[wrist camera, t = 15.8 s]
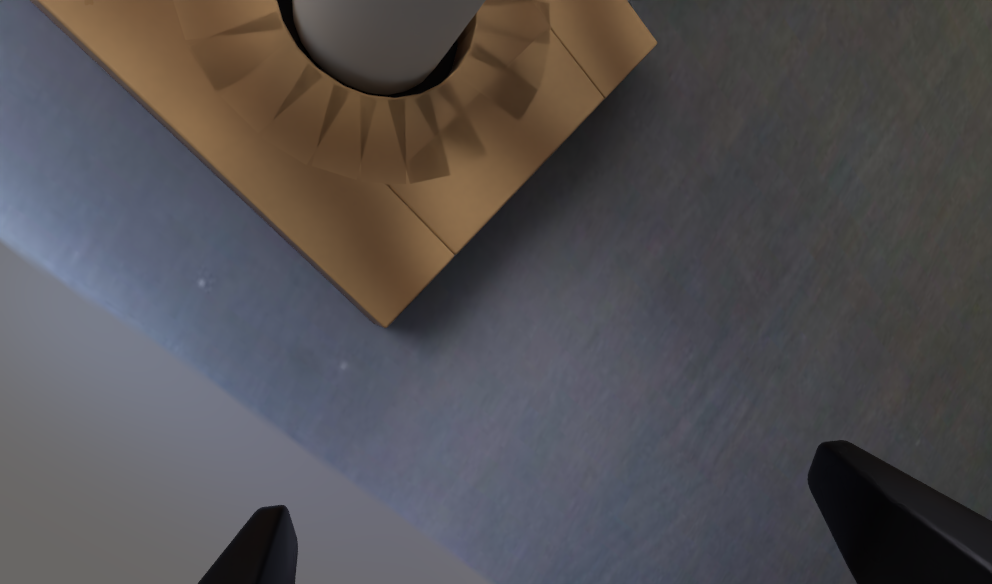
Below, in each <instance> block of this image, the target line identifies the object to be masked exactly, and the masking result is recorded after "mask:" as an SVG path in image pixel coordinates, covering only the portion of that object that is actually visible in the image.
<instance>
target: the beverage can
mask: <svg viewBox="0 0 992 584" xmlns="http://www.w3.org/2000/svg"><path fill="white" fill-rule="evenodd" d="M485 1H486V0H292V7H293V21H294V24H295V27H296V30H297V33H298V35H299V38H300V41H301V43H302V44H303V46H304V47H305V49H306V50H307V52H308V53H309V55H310V56H311V58H312V59H313V60H314V61H315V62H316V63H317V64H318V65H319V66H320V67H321V68H322V69H323V70H325V71H326V72H327V73H328V74H329V75H331V76H332V77H334V78H336V79H337V80H339V81H341V82H342V83H344V84H346V85H347V86H350V87H353V88H356V89H358V90H361V91H364V92H367V93H373V94H382V95H391V94H395V93H400V92H405V91H408V90H409V89H411V88H413V87H415V86H416V85H418V84H420V83H422V82H423V81H424V80H425V79H426V77H427V76H428V75H429V74H430V73H431V72H432V71H433V70H434V69H435V68H436V66H437V65H438V64H439V62H440V61H441V60H442V58H443V57H444V56H445V54H446V53H447V52H448V50H449V49H450V48H451V46H452V45H453V43H454V42H455V41H456V39H457V38H458V37H459V35H460V34H461V33H462V31H463V30H464V29H465V27H466V26H467V25H468V23H469V22H470V21H471V19H472V18H473V17H474V15H475V14H476V13H477V11H478V10H479V9H480V7H481V6H482V5H483V3H484V2H485Z"/></svg>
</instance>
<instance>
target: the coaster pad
mask: <svg viewBox="0 0 992 584" xmlns="http://www.w3.org/2000/svg"><path fill="white" fill-rule="evenodd" d="M30 1H31V2H32V3H33V4H34V5H35V6H36V7H37V8H39V9H40V10H41V11H42V12H43V13H44V14H45V15H46V16H47V17H48V18H49V19H50V20H51V21H52V22H53V23H54V24H56V25H57V26H58V27H59V28H60V29H61V30H62V31H63V32H64V33H65V34H66V35H67V36H68V37H69V38H70V39H72V40H73V41H74V42H75V43H76V44H77V45H78V46H79V47H80V48H81V49H82V50H83V51H84V52H85V53H86V54H87V55H89V56H90V57H91V58H92V59H93V60H94V61H95V62H96V63H97V64H98V65H99V66H100V67H101V68H102V69H103V70H105V71H106V72H107V73H108V74H109V75H110V76H111V77H112V78H113V79H114V80H115V81H116V82H117V83H118V84H119V85H120V86H122V87H123V88H124V89H125V90H126V91H127V92H128V93H129V94H130V95H131V96H132V97H133V98H134V99H135V100H136V101H138V102H139V103H140V104H141V105H142V106H143V107H144V108H145V109H146V110H147V111H148V112H149V113H150V114H151V115H152V116H153V117H155V118H156V119H157V120H158V121H159V122H160V123H161V124H162V125H163V126H164V127H165V128H166V129H167V130H168V131H169V132H171V133H172V134H173V135H174V136H175V137H176V138H177V139H178V140H179V141H180V142H181V143H182V144H183V145H184V146H185V147H187V148H188V149H189V150H190V151H191V152H192V153H193V154H194V155H195V156H196V157H197V158H198V159H199V160H200V161H201V162H202V163H204V164H205V165H206V166H207V167H208V168H209V169H210V170H211V171H212V172H213V173H214V174H215V175H216V176H217V177H218V178H220V179H221V180H222V181H223V182H224V183H225V184H226V185H227V186H228V187H229V188H230V189H231V190H232V191H233V192H234V193H235V194H237V195H238V196H239V197H240V198H241V199H242V200H243V201H244V202H245V203H246V204H247V205H248V206H249V207H250V208H251V209H253V210H254V211H255V212H256V213H257V214H258V215H259V216H260V217H261V218H262V219H263V220H264V221H265V222H266V223H267V224H268V225H270V226H271V227H272V228H273V229H274V230H275V231H276V232H277V233H278V234H279V235H280V236H281V237H282V238H283V239H284V240H286V241H287V242H288V243H289V244H290V245H291V246H292V247H293V248H294V249H295V250H296V251H297V252H298V253H299V254H300V255H301V256H303V257H304V258H305V259H306V260H307V261H308V262H309V263H310V264H311V265H312V266H313V267H314V268H315V269H316V270H317V271H319V272H320V273H321V274H322V275H323V276H324V277H325V278H326V279H327V280H328V281H329V282H330V283H331V284H332V285H333V286H335V287H336V288H337V289H338V290H339V291H340V292H341V293H342V294H343V295H344V296H345V297H346V298H347V299H348V300H349V301H350V302H352V303H353V304H354V305H355V306H356V307H357V308H358V309H359V310H360V311H361V312H362V313H363V314H364V315H365V316H366V317H368V318H369V319H370V320H371V321H372V322H373V323H374V324H377V325H379V326H381V327H384V328H387V327H388V326H389V325H390V324H391V323H392V322H393V321H394V320H395V319H396V318H397V317H398V316H399V315H400V314H401V312H402V311H403V310H404V309H405V308H406V307H407V306H408V305H409V304H410V303H411V302H412V301H413V300H414V299H415V298H416V297H417V296H418V295H419V294H420V293H421V291H422V290H423V289H424V288H425V287H426V286H427V285H428V284H429V283H430V282H431V281H432V280H433V279H434V278H435V277H436V276H437V275H438V274H439V273H440V272H441V270H442V269H443V268H444V267H445V266H446V265H447V264H448V263H449V262H450V261H451V260H452V259H453V258H454V255H456V254H458V253H459V252H460V250H461V249H462V248H463V247H464V246H465V245H466V244H467V243H468V242H469V241H470V240H471V239H472V238H473V237H474V236H475V235H476V234H477V233H478V232H479V231H480V229H481V228H482V227H483V226H484V225H485V224H486V223H487V222H488V221H489V220H490V219H491V218H492V217H493V216H494V215H495V214H496V213H497V212H498V211H499V210H500V208H501V207H502V206H503V205H504V204H505V203H506V202H507V201H508V200H509V199H510V198H511V197H512V196H513V195H514V194H515V193H516V192H517V191H518V190H519V189H520V187H521V186H522V185H523V184H524V183H525V182H526V181H527V180H528V179H529V178H530V177H531V176H532V175H533V174H534V173H535V172H536V171H537V170H538V169H539V167H540V166H541V165H542V164H543V163H544V162H545V161H546V160H547V159H548V158H549V157H550V156H551V155H552V154H553V153H554V152H555V151H556V150H557V149H558V148H559V146H560V145H561V144H562V143H563V142H564V141H565V140H566V139H567V138H568V137H569V136H570V135H571V134H572V133H573V132H574V131H575V130H576V129H577V128H578V127H579V125H580V124H581V123H582V122H583V121H584V120H585V119H586V118H587V117H588V116H589V115H590V114H591V113H592V112H593V111H594V110H595V109H596V108H597V107H598V106H599V104H600V103H601V102H602V101H603V100H604V99H605V98H606V97H607V96H608V95H609V94H610V93H611V92H612V91H613V90H614V89H615V88H616V87H617V86H618V85H619V84H620V83H621V82H622V81H623V79H624V78H625V77H626V76H627V75H628V74H629V73H630V72H631V71H632V70H633V69H634V68H635V67H636V66H637V65H638V64H639V63H640V62H641V61H642V59H643V58H644V57H645V56H646V55H647V54H648V53H649V52H650V51H651V50H652V49H653V48H654V47H655V46H656V45H657V41H656V40H655V39H654V37H653V36H652V34H651V33H650V32H649V30H648V29H647V27H646V26H645V25H644V23H643V22H642V20H641V19H640V18H639V16H638V15H637V14H636V12H635V11H634V9H633V8H632V7H631V5H630V4H629V2H628V1H627V0H486V1H485V2H484V3H483V5H482V6H481V7H480V9H479V10H478V11H477V13H476V14H475V15H474V17H473V18H472V19H471V21H470V22H469V23H468V25H467V26H466V27H465V29H464V30H463V31H462V33H461V34H460V35H459V37H458V38H457V51H456V55H455V59H454V63H453V67H452V70H451V71H450V73H449V75H448V77H447V78H446V79H445V80H444V81H443V82H442V83H441V84H439V85H437V86H435V87H433V88H431V89H429V90H427V91H425V92H423V93H421V94H415V95H409V96H403V97H397V98H393V97H383V96H374V95H367V94H365V93H362V92H359V91H357V90H354V89H351V88H349V87H346V86H344V85H342V84H341V83H339V82H338V81H336V80H335V79H333V78H332V77H330V76H329V75H327V74H326V73H324V72H323V71H321V70H320V69H318V68H317V67H316V66H315V65H314V64H313V63H312V62H311V60H310V59H309V58H308V57H307V56H306V55H305V54H304V53H303V52H302V51H301V50H300V49H299V48H298V46H297V45H296V43H295V41H294V39H293V38H292V36H291V34H290V32H289V31H288V29H287V27H286V25H285V24H284V22H283V20H282V16H281V13H280V9H279V6H278V2H277V0H30Z"/></svg>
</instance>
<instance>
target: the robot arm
mask: <svg viewBox="0 0 992 584" xmlns="http://www.w3.org/2000/svg"><path fill="white" fill-rule="evenodd" d="M808 485H809V488H810V491H811V493H812V495H813V497H814V499H815V501H816V503H817V505H818V507H819V509H820V511H821V513H822V515H823V517H824V519H825V521H826V523H827V525H828V527H829V529H830V531H831V533H832V535H833V538H834V540H835V542H836V544H837V546H838V548H839V550H840V552H841V554H842V556H843V558H844V560H845V562H846V564H847V566H848V568H849V569H850V571H851V573H852V575H853V577H854V578H855V580H856V582H857V584H992V521H990V520H989V519H987V518H985V517H983V516H981V515H980V514H978V513H976V512H974V511H972V510H971V509H969V508H967V507H965V506H963V505H962V504H960V503H958V502H956V501H954V500H953V499H951V498H949V497H947V496H945V495H944V494H942V493H940V492H938V491H936V490H935V489H933V488H931V487H929V486H927V485H926V484H924V483H922V482H920V481H918V480H917V479H915V478H913V477H911V476H909V475H908V474H906V473H904V472H902V471H900V470H899V469H897V468H895V467H893V466H891V465H890V464H888V463H886V462H884V461H883V460H881V459H879V458H877V457H875V456H874V455H872V454H870V453H868V452H866V451H865V450H863V449H861V448H859V447H857V446H856V445H854V444H852V443H850V442H848V441H844V440H838V441H829V442H823V443H821V444H820V445H819V446H818V448H817V450H816V453H815V456H814V459H813V461H812V464H811V467H810V470H809V473H808ZM297 554H298V543H297V537H296V534H295V530H294V527H293V524H292V520H291V517H290V514H289V511H288V509H287V507H286V506H284V505H278V506H269V507H262V508H260V509H258V510H257V511H256V512H255V513H254V514H253V515H252V517H251V518H250V519H249V520H248V521H247V523H246V524H245V525H244V526H243V528H242V529H241V530H240V531H239V533H238V534H237V535H236V536H235V538H234V539H233V540H232V541H231V543H230V544H229V545H228V547H227V548H226V549H225V550H224V552H223V553H222V554H221V555H220V556H219V558H218V559H217V560H216V561H215V563H214V564H213V565H212V566H211V568H210V569H209V570H208V572H207V573H206V574H205V575H204V576H203V578H202V579H201V580H200V581H199V583H198V584H295V575H296V564H297Z"/></svg>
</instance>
